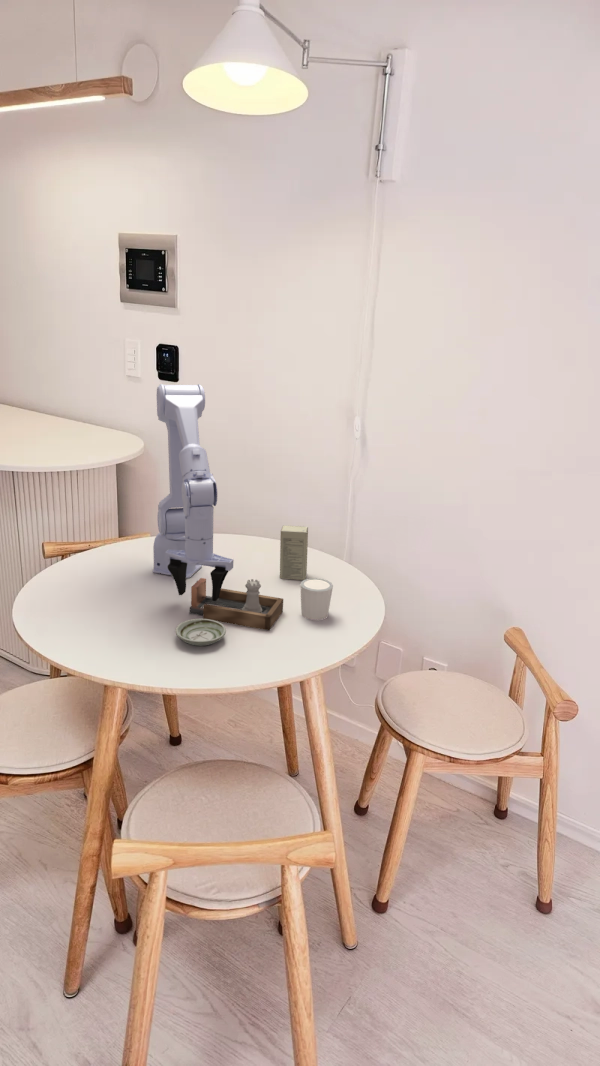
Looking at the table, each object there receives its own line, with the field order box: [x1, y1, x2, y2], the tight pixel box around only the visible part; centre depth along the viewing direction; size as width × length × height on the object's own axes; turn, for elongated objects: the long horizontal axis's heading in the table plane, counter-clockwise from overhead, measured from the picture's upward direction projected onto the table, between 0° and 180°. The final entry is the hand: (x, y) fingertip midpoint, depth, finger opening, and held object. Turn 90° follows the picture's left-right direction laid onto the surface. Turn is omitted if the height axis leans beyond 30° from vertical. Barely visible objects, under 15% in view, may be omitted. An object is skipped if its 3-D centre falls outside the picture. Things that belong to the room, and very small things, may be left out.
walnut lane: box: [202, 587, 284, 631], centre depth 146 cm, size 14×9×3 cm, turn 75°
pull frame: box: [189, 577, 272, 616], centre depth 146 cm, size 16×7×6 cm, turn 75°
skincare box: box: [279, 525, 309, 581], centre depth 165 cm, size 6×4×12 cm
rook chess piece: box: [241, 578, 263, 614], centre depth 144 cm, size 4×4×8 cm
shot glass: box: [299, 577, 334, 621], centre depth 147 cm, size 7×7×7 cm
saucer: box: [175, 618, 227, 647], centre depth 135 cm, size 10×10×2 cm
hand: (198, 596), depth 148 cm, fingers open, 7 cm apart
